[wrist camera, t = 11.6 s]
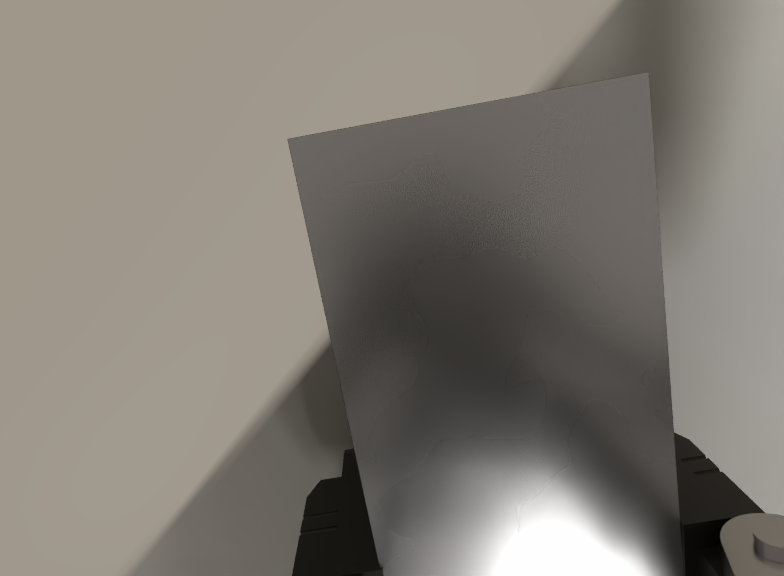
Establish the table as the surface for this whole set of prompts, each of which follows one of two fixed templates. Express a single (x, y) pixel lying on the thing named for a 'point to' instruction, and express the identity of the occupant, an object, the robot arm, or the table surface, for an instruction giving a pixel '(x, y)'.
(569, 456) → the steel bar
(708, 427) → the table surface
